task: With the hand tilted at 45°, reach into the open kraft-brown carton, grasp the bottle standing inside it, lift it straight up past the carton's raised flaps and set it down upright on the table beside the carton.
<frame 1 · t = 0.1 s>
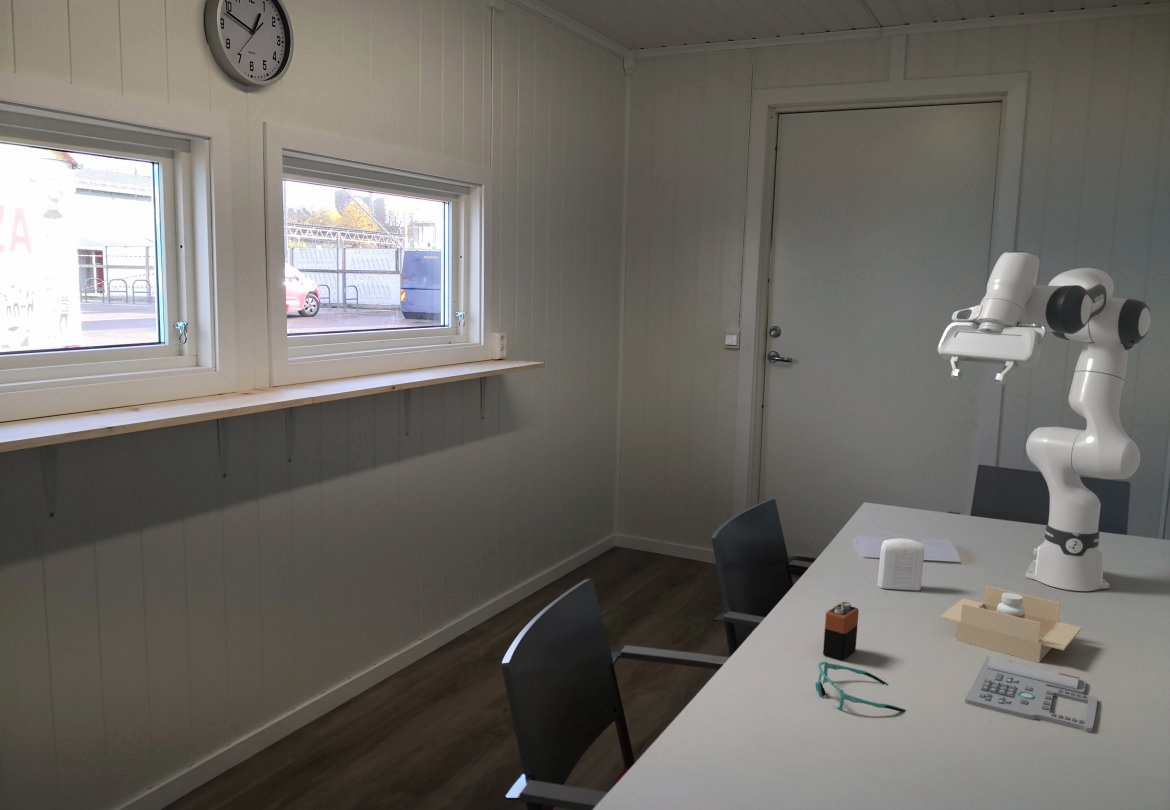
hand: (977, 380, 187), 54 cm above the table, tool tilted 30°, fingers open, 8 cm apart
sunglasses: (856, 698, 164), on the table
carton: (1008, 639, 192), on the table
photo printer: (899, 588, 222), on the table
battery: (839, 654, 182), on the table
supplement bottle: (1007, 640, 192), resting in carton
office telephone: (1033, 697, 167), on the table
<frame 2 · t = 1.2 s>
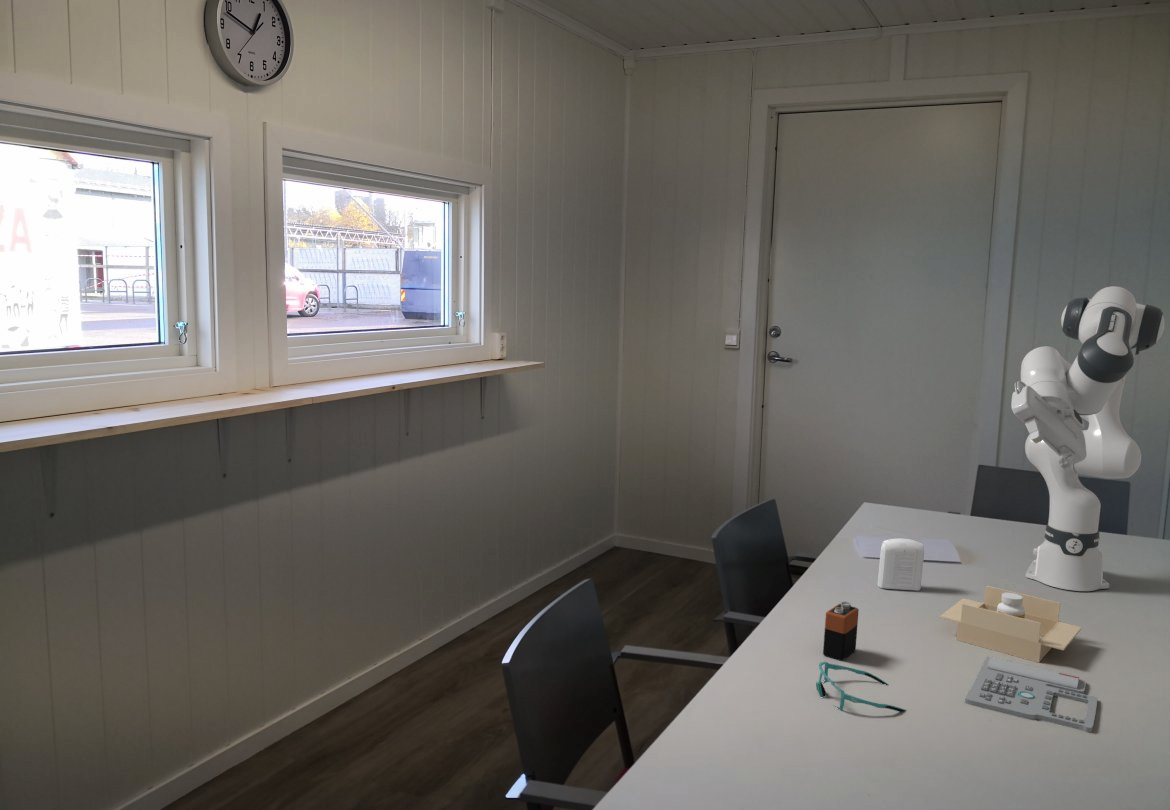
hand: (1051, 453, 182), 41 cm above the table, tool tilted 55°, fingers open, 8 cm apart
nothing on the table moved.
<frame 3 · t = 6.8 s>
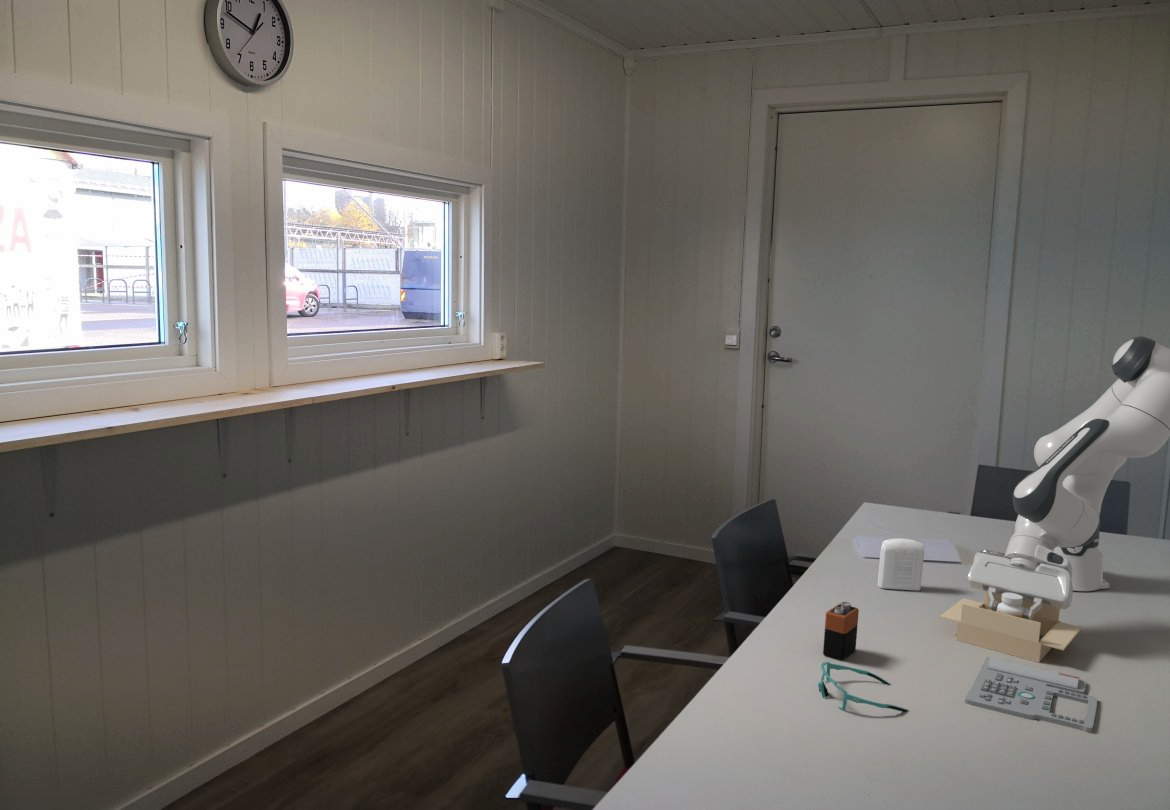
hand: (1009, 613, 191), 6 cm above the table, tool tilted 45°, fingers closed on supplement bottle, 5 cm apart
supplement bottle: (1007, 640, 192), resting in carton, touching gripper
everything else where it was.
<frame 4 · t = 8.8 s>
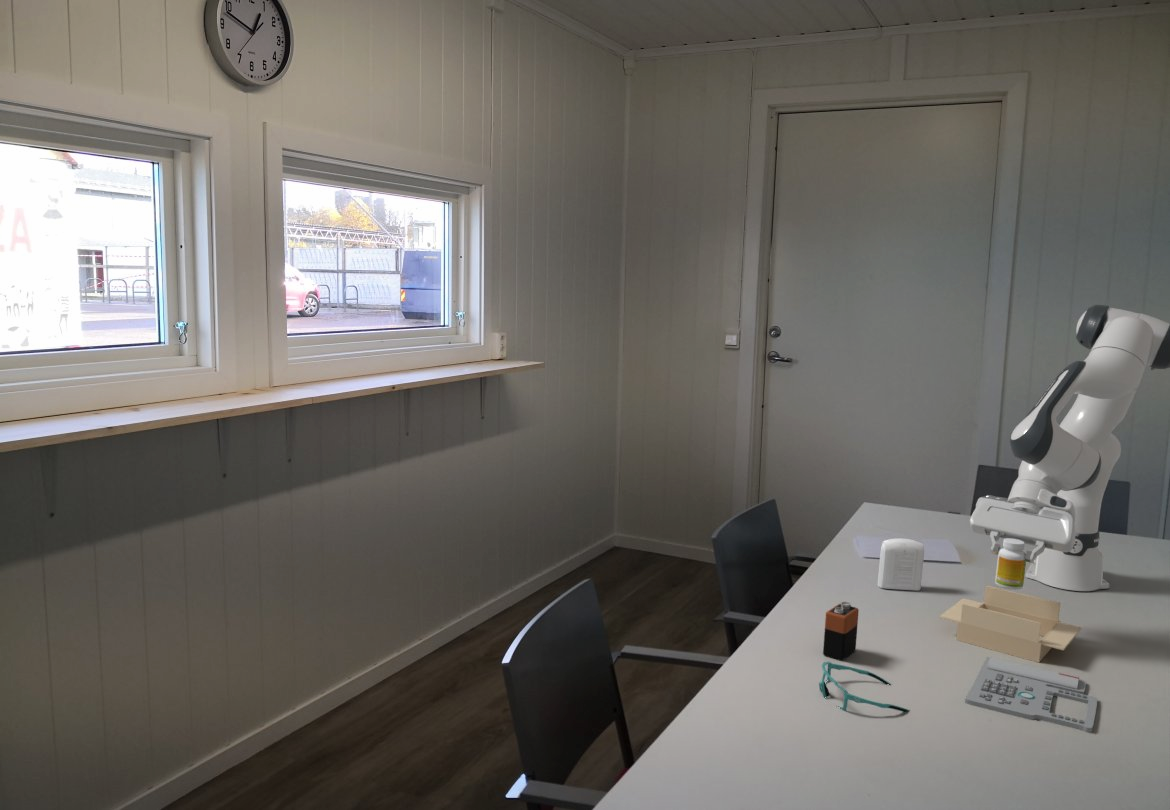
hand: (1011, 557, 190), 18 cm above the table, tool tilted 45°, fingers closed on supplement bottle, 5 cm apart
supplement bottle: (1008, 586, 191), point 11 cm above the table, touching gripper
everything else where it was.
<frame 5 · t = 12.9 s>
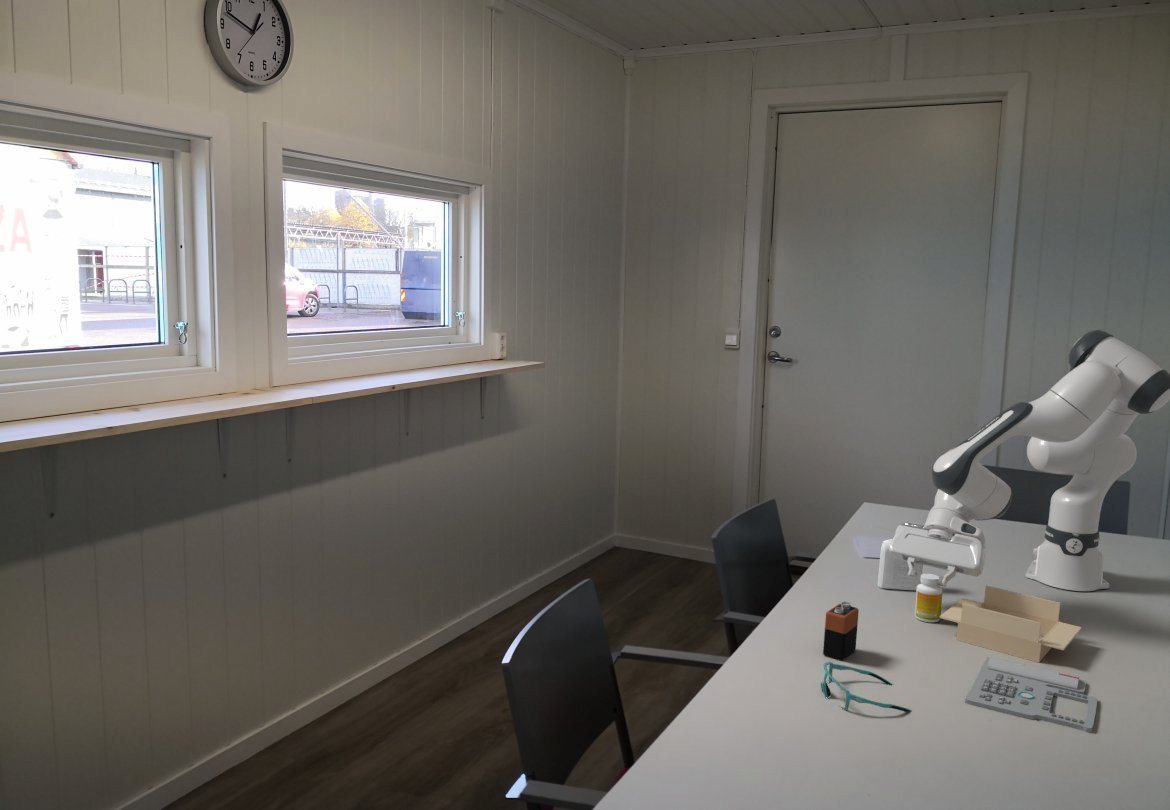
hand: (926, 581, 201), 9 cm above the table, tool tilted 45°, fingers open, 5 cm apart
supplement bottle: (927, 619, 203), on the table
everything else where it was.
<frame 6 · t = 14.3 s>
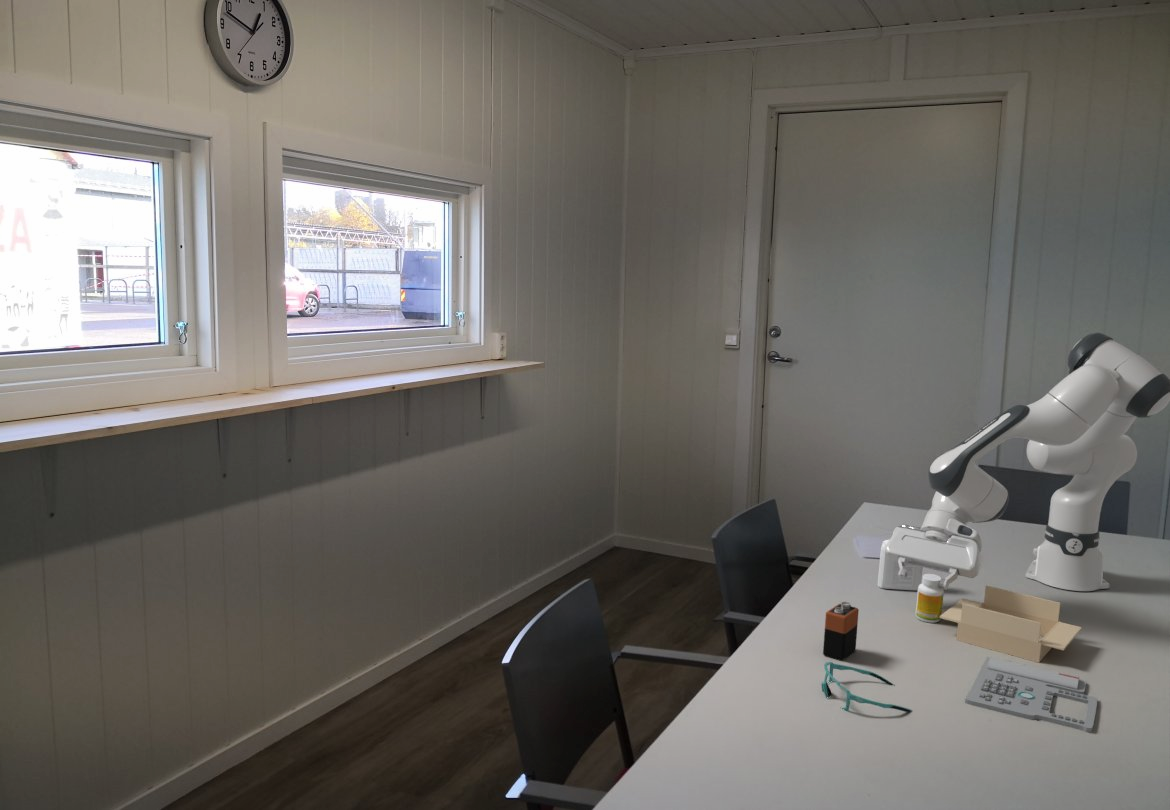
hand: (921, 582, 201), 8 cm above the table, tool tilted 45°, fingers open, 8 cm apart
supplement bottle: (927, 618, 203), on the table, touching gripper
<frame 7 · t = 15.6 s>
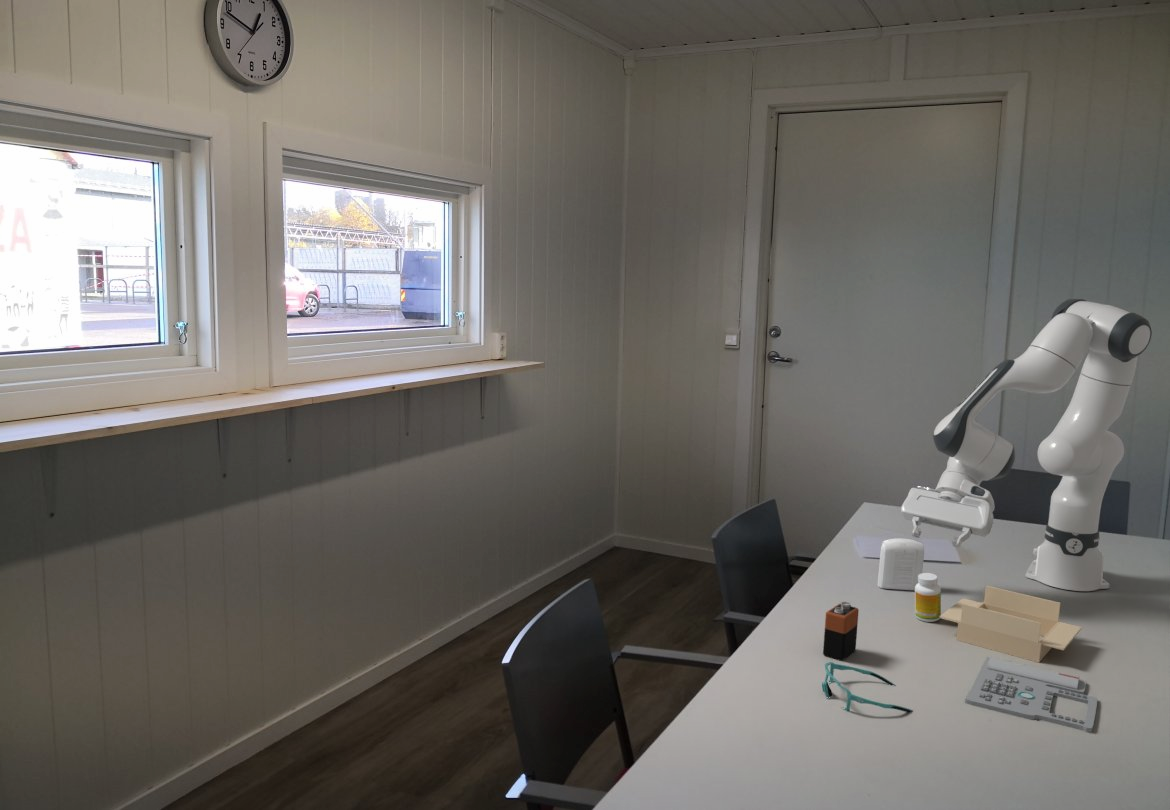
hand: (935, 540, 210), 15 cm above the table, tool tilted 45°, fingers open, 8 cm apart
supplement bottle: (927, 617, 203), on the table
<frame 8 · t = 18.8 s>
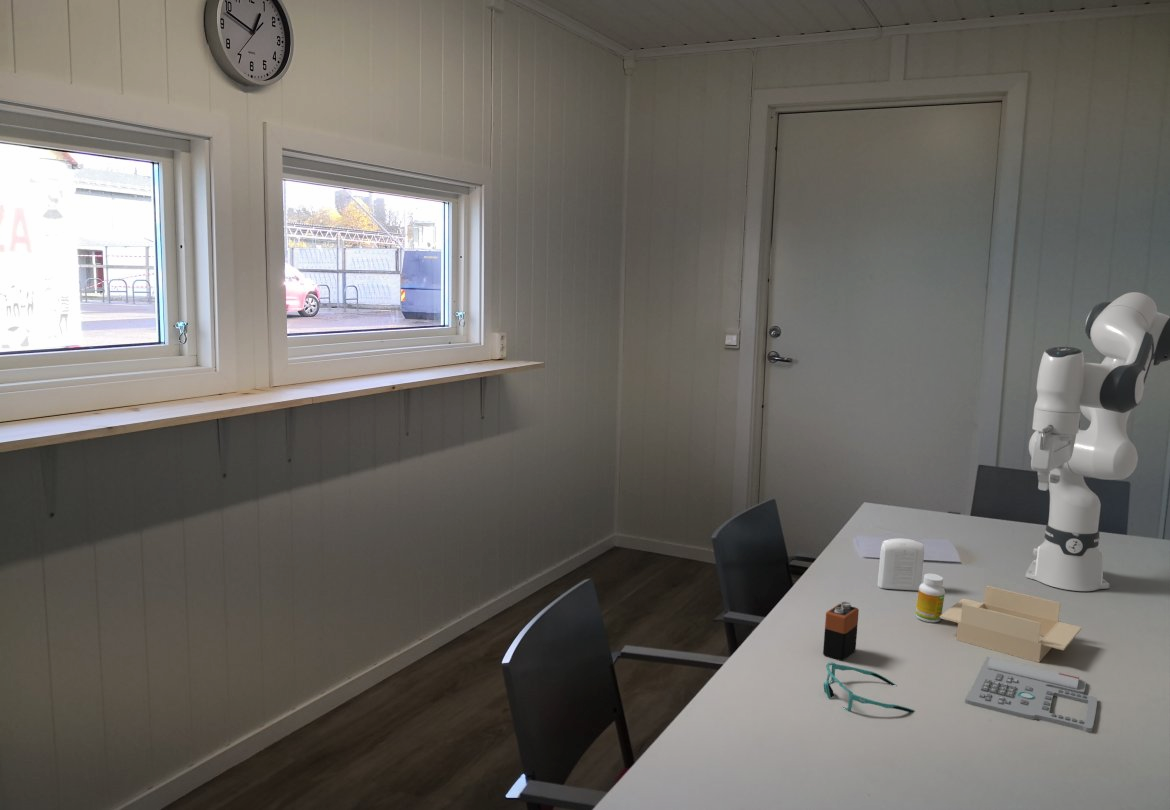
hand: (1049, 486, 197), 31 cm above the table, tool pointing down, fingers open, 8 cm apart
at the end: supplement bottle inside the target area (1.0 cm from its centre), on the table; supplement bottle tilted 4°; the gripper is holding nothing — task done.
